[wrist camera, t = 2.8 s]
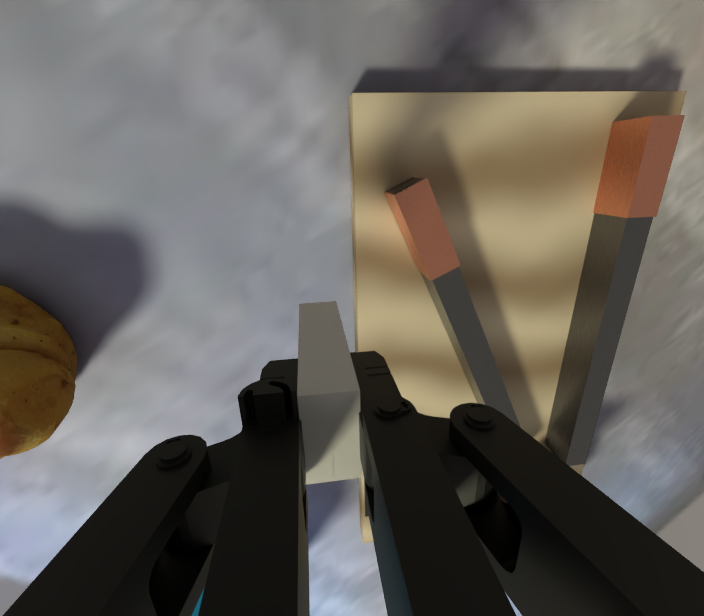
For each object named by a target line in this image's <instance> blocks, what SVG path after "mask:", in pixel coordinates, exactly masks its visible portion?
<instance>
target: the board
mask: <svg viewBox="0 0 704 616" xmlns="http://www.w3.org/2000/svg"><path fill="white" fill-rule="evenodd" d="M686 92H687V91H605V92H434V93H352V94H351V96H350V97H349V128H350V165H351V202H352V239H353V276H354V313H355V349H356V352H365V351H376V352H377V353H379V354H380V355H381V356H383V357H384V358H385V361H386V363H387V365H388V367H389V369H390V372H391V374H392V376H393V378H394V381H395V383H396V385H397V387H398V389H399V392H400V394H401V396H402V397H403V398H405V399H407V400H408V401H410V402H411V403H412V404H413V405H414V407H415V408H416V410H417V412H418V413H421V414H424V415H428V416H434V417H443V418H450V413H451V411H452V410H453V408H454V407H456V406H458V405H460V404H465V403H477V401H476V399H475V396H474V394H473V392H472V389H471V387H470V385H469V383H468V380H467V378H466V376H465V373H464V371H463V369H462V367H461V364H460V362H459V360H458V357H457V355H456V353H455V351H454V348H453V346H452V344H451V341H450V339H449V337H448V334H447V332H446V330H445V328H444V325H443V323H442V321H441V318H440V316H439V314H438V312H437V309H436V307H435V305H434V302H433V300H432V298H431V295H430V293H429V291H428V289H427V286H426V284H425V282H424V279H423V277H422V275H421V273H420V271H419V270H418V269H417V268H416V265H415V263H414V261H413V258H412V256H411V254H410V252H409V249H408V247H407V245H406V242H405V240H404V238H403V236H402V233H401V231H400V229H399V226H398V224H397V222H396V220H395V217H394V215H393V213H392V211H391V208H390V206H389V204H388V201H387V199H386V197H385V195H384V192H385V191H387V190H389V189H391V188H393V187H395V186H396V185H398V184H400V183H402V182H404V181H406V180H408V179H409V178H411V177H424V178H428V181H429V184H430V186H431V189H432V191H433V194H434V197H435V199H436V202H437V205H438V207H439V210H440V212H441V215H442V218H443V220H444V223H445V225H446V228H447V231H448V233H449V236H450V239H451V241H452V244H453V246H454V249H455V252H456V254H457V257H458V259H459V262H460V265H461V266H459V269H460V271H461V274H462V277H463V279H464V282H465V284H466V287H467V290H468V292H469V295H470V297H471V300H472V303H473V305H474V308H475V310H476V313H477V315H478V318H479V321H480V323H481V326H482V328H483V331H484V334H485V336H486V339H487V341H488V344H489V347H490V349H491V352H492V354H493V357H494V360H495V362H496V365H497V367H498V370H499V373H500V375H501V378H502V380H503V383H504V386H505V388H506V391H507V393H508V396H509V399H510V401H511V404H512V406H513V409H514V411H515V414H516V417H517V419H518V422H519V424H520V427H521V428H522V429H523V430H524V431H525V432H527V433H528V434H529V435H530V436H532V437H533V438H534V439H536V440H537V441H538V442H539V443H541V444H542V445H543V446H544V447H546V448H547V449H548V450H549V451H551V450H550V449H549V448H548V447H547V446H546V445H545V439H546V434H547V430H548V425H549V420H550V416H551V411H552V407H553V402H554V397H555V393H556V388H557V383H558V379H559V374H560V370H561V365H562V360H563V356H564V351H565V346H566V342H567V337H568V333H569V328H570V323H571V319H572V314H573V309H574V305H575V300H576V296H577V291H578V286H579V282H580V277H581V272H582V268H583V263H584V258H585V254H586V249H587V245H588V240H589V235H590V231H591V226H592V221H593V217H594V213H593V210H594V205H595V201H596V196H597V191H598V187H599V182H600V177H601V173H602V168H603V163H604V159H605V154H606V149H607V145H608V140H609V136H610V131H611V126H612V122H616V121H622V120H628V119H635V118H641V117H648V116H665V115H680V114H681V110H682V106H683V103H684V99H685V95H686ZM551 452H552V451H551ZM552 453H553V452H552ZM583 466H584V464H581V465H573V466H570V467H571V468H572V469H574V470H575V471H576V472H577V473H579V474H580V475H581V473H582V470H583ZM359 497H360V528H361V534H362V540H363V543H368V542H374V541H373V536H372V530H371V525H370V520H369V516H367V517H365V489H364V475H363V470H362V478H359Z"/></svg>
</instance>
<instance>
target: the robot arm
mask: <svg viewBox="0 0 704 616" xmlns="http://www.w3.org/2000/svg"><path fill="white" fill-rule="evenodd" d="M238 402H239V408H240V414H241V419H242V425H243V427H242V432H240V433H239V434H237V435H236V436H234V437H232V438H230V439H228V440H225V441H223V442H220V443H217V444H214V445H211V446H207V445H206V441H204V440H203V439H202V438H201V437H199V436H194V435H181V436H177V437H173V438H170V439H167V440H165V441H163V442H161V443H159V444H158V445H156V446H154V447H153V448H152V449H151V450H150V451H149V452H147V453H146V454H145V455H144V456H143V457H142V459H141V460H140V461H139V462H138V463H137V464H136V465H135V467H134V468H133V469H132V470H131V471H130V472H129V473H128V474H127V476H126V477H125V478H124V479H123V480H122V481H121V482H120V483H119V485H118V486H117V487H116V488H115V489H114V490H113V491H112V493H111V494H110V495H109V496H108V497H107V498H106V499H105V500H104V502H103V503H102V504H101V505H100V506H99V507H98V508H97V510H96V511H95V512H94V513H93V514H92V515H91V516H90V517H89V519H88V520H87V521H86V522H85V523H84V524H83V525H82V526H81V528H80V529H79V530H78V531H77V532H76V533H75V534H74V536H73V537H72V538H71V539H70V540H69V541H68V542H67V543H66V545H65V546H64V547H63V548H62V549H61V550H60V551H59V553H58V554H57V555H56V556H55V557H54V558H53V559H52V560H51V562H50V563H49V564H48V565H47V566H46V567H45V568H44V570H43V571H42V572H41V573H40V574H39V575H38V576H37V577H36V579H35V580H34V581H33V582H32V583H31V584H30V585H29V586H28V588H27V589H26V590H25V591H24V592H23V593H22V594H21V596H20V597H19V598H18V599H17V600H16V601H15V602H14V604H13V605H12V606H11V607H10V608H9V609H8V611H6V613H5V614H4V615H3V616H192V614H193V612H194V609H195V607H196V605H197V603H198V601H199V598H200V596H201V594H202V592H203V590H204V592H203V597H202V601H201V605H200V609H199V613H198V616H310V615H309V560H308V504H307V493H306V485H308V484H315V483H323V482H331V481H339V480H347V479H354V478H362V470H363V475H364V489H365V517H367V516H369V520H370V525H371V530H372V536H373V541H374V546H375V551H376V556H377V562H378V567H379V572H380V577H381V582H382V588H383V593H384V598H385V603H386V609H387V614H388V616H516V614H515V612H514V610H513V608H512V606H511V604H510V602H509V600H508V598H507V596H506V594H507V595H508V596H509V598H510V599H511V601H512V602H513V603H514V605H515V606H516V607H517V609H518V610H519V612H520V613H521V614H522V616H704V572H703V571H701V570H700V569H699V568H698V567H696V566H695V565H694V564H693V563H691V562H690V561H689V560H687V559H686V558H685V557H684V556H682V555H681V554H680V553H679V552H677V551H676V550H675V549H674V548H672V547H671V546H670V545H668V544H667V543H666V542H664V541H663V540H662V539H661V538H660V537H658V536H657V535H656V534H655V533H653V532H652V531H651V530H650V529H648V528H647V527H646V526H644V525H643V524H642V523H641V522H639V521H638V520H637V519H636V518H634V517H633V516H632V515H631V514H629V513H628V512H627V511H625V510H624V509H623V508H622V507H620V506H619V505H618V504H617V503H615V502H614V501H613V500H612V499H610V498H609V497H608V496H606V495H605V494H604V493H603V492H601V491H600V490H599V489H598V488H596V487H595V486H594V485H593V484H591V483H590V482H589V481H587V480H586V479H585V478H584V477H582V476H581V475H580V474H579V473H577V472H576V471H575V470H574V469H572V468H571V467H570V466H568V465H567V464H566V463H565V462H563V461H562V460H561V459H560V458H558V457H557V456H556V455H555V454H553V453H552V452H551V451H549V450H548V449H547V448H546V447H544V446H543V445H542V444H541V443H539V442H538V441H537V440H536V439H534V438H533V437H532V436H530V435H529V434H528V433H527V432H525V431H524V430H523V429H522V428H520V427H519V426H518V425H517V424H515V423H514V422H513V421H511V420H510V419H509V418H508V417H506V416H505V415H504V414H503V413H501V412H500V411H498V410H496V409H495V408H493V407H490V406H487V405H484V404H479V403H465V404H460V405H458V406H456V407H454V408H453V410H452V411H451V413H450V418H443V417H434V416H428V415H424V414H421V413H418V412H417V410H416V408H415V407H414V405H413V404H412V403H411V402H410V401H408V400H407V399H405V398H403V397H402V396H401V394H400V392H399V389H398V387H397V385H396V383H395V381H394V378H393V376H392V374H391V372H390V369H389V367H388V365H387V363H386V361H385V358H384V357H383V356H381V355H380V354H379V353H377V352H376V351H365V352H354V353H350V351H349V348H348V344H347V340H346V337H345V333H344V329H343V325H342V322H341V318H340V314H339V311H338V307H337V303H336V301H333V302H319V303H305V304H299V343H298V359H287V360H276V361H270V362H269V363H268V364H267V365H266V366H265V367H264V368H263V369H262V372H261V377H260V380H259V381H257V382H254V383H252V384H250V385H248V386H247V387H245V388H244V389H243V390H242V391H241V392H240V394H239V395H238ZM204 587H205V588H204ZM505 592H506V594H505Z"/></svg>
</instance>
